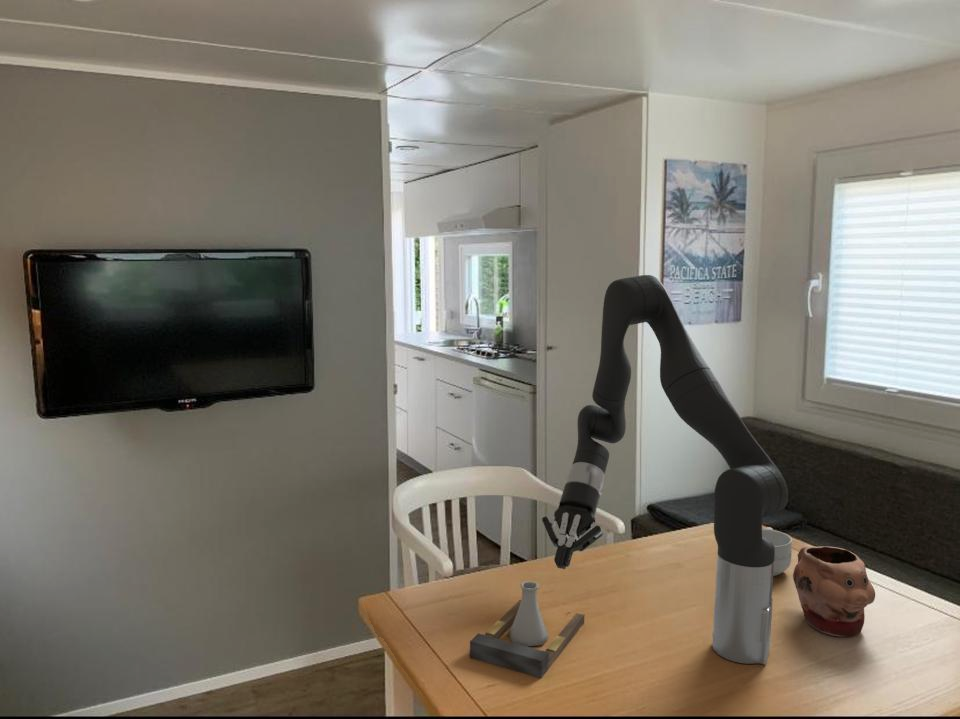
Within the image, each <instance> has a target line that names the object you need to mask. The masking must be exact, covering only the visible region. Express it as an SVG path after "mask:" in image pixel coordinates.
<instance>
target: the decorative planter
mask: <svg viewBox="0 0 960 719" xmlns="http://www.w3.org/2000/svg"><path fill="white" fill-rule="evenodd" d="M866 569H867V568H866V565H865V563H864V561H863V560H862V559H860V557H859V556H858V555H857V554H855V553H853V552H851V551H850V550H848V549H845V548H841V547H835V546H826V545H825V546H810V547H809V546H803V547H801V548H800V549H799V551H798V553H797V563H796V565H795V566H794V569H793V572H792V578H793V583H794V586H795V589H796V592H797V595H798V600H799V603H800V606H801V609H802V612H803V617H804V620H805V621H806V622H807V623H808V625H809V626H810V627H813V628H814V629H815V630H817V631H819V632H821V633H823V634H826V635H831V636H835V637H852V636H857V635H860V633H861V632H862V630H863V627H864V624H865V617H866V616H865V615H866V614H865V608H866V607H867V606H868V605H872V604H873V603H874V601H875V599H876V591H875V588H874V585H873V584H872V583H871V581H870V580H869V577H868V574H867V571H866Z"/></svg>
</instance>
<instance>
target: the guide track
mask: <svg viewBox="0 0 960 719" xmlns="http://www.w3.org/2000/svg"><path fill="white" fill-rule="evenodd" d="M520 603H521V599H519V600H518V601H517V602H516V603H515V604H514V605H513V606H511V608H510V609H509V610H507V612H506V613H505V614H504V615H503V616H502V617H501V618H500V619H498V620H497V621H495V623H494V624H493V625H492V626H490V628H488V630H486V632H485V634H481V633H477V634H476V635H475V636H474V637H473V638H472V639H471V640H469V658H470V659H474V660H477V661H480V662H484V663H488V664H490V665H494V666H498V667H501V668H505V669H509V670H512V671H515V672H518V673H522V674H525V675H529V676H532V677H536V678H539V679H542V678H543V676H545V675H546V673H547V672H548V671H549V669H550V668H551V667H552V665H553V664H554V663H555V662H556V660H557V659H558V657H560V655H561V653H562V652H564V650H565V649H566V648H567V646H568V644H569V643H570V642H571V641H572V639H573V638H574V637H575V635H576V634H577V633H578V632H579V630H580V629H581V628H582V627H583V625H584V624H585V614H582V613H577V612H575V614H574V615H573V616H572V618H571V619H570V620H569V621H568V622H567V624H566V625H565V626H564V628H562V630H561V631H560V633H558V634H557V635H556V637H555V638H553V640H552V641H551V642H550V643H549V644H548V646H547V647H546V649H545V650H541V649H538V648H534V647H532V646H524V645H520V644H516V643H513V642H512V641H508V640H505V639H504V640H503V639H500V638H501V637H502V636H503V635H504V634H505V633H506V632H507V631H508V630H509V629H511V627H512V625H513V622H514V620H515V617H516V615H517V612H518V609H519V606H520Z"/></svg>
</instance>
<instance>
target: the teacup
mask: <svg viewBox="0 0 960 719" xmlns="http://www.w3.org/2000/svg"><path fill="white" fill-rule="evenodd" d="M762 537H765V538H767V539H768V540H770V541H771V542H772V543H773V545H774V547H775V557H774V571H773V577H775V576H778V575H781V574H782V573H784V572H785V571H786V570H788V569H789V567H790V565H791V563H792V553H793V552H792V550H793V549H792V546H793V545H792V544H793V538H792V536H790V535H789V534H787V533H784V532H783V531H779V530H773V528H772V527H769V526H768V527H767V526H766V527H765V528H762Z"/></svg>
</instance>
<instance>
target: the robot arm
mask: <svg viewBox="0 0 960 719" xmlns="http://www.w3.org/2000/svg"><path fill="white" fill-rule="evenodd" d="M602 308H603V309H602V322H601V336H600V337H601V339H600V340H601V341H600V354H599V355H600V357H599V363H598V369H597V373H596V377H595V381H594V386H593V390H592V395H591V397H592V400H593V401H594V403H595V404H596V405H593V404H588V405H585V406H583V408H581V410H580V411H579V412H578V416H577V446H576V451H575V454H574V457H573V461H572V465H571V468H570V470H569V471H568V474H567V477H566V480H565V484H564V487H563V489H562V494H561V497H560V500H559V505H558V507H557V508H556V510H555V511H554V514H553V515H551V516H549V517H547V516H543V517H542V519H541V522H542V523H543V526H544V528H545V530H546V532H547V534H548V537H549V539H550V541H551V543H552V544H553V546H554V547H555V548H557V549H556V551H555V555H554V558H553V559H554V563H555V565H556V567H557V569H562V570H566V568H569V566H570V564H571V560H572V558H573V555H574V554H573V553H574V552H576V551H579V552H583V551H585V550H586V549H587V548H588V547H590V546H591V545H593V543H595V542H596V541H597V540H598V539H600V538H601V537H602V536H603V535H604V533H603V530H602V528H601V526H600V525H597V524H596V518H595V515H596V512H597V508H598V504H599V501H600V498H601V495H602V492H603V487H604V479H605V475H606V471H607V466H608V463H609V461H610V460H609V459H610V452H609V450H608V449H607V447H605V446H604V445H603V444H601V443H599V442H598V441H601V442H604V443H608V444H617V443H619V442H620V441H621V440H622V439H623V438H624V436H625V433H626V430H627V429H626V425H627V423H626V413H625V412H626V411H625V410H626V409H625V406H626V398H627V393H628V392H629V391H628V390H629V386H630V383H631V379H632V366H631V362H630V359H629V357H628V354H627V352H626V349H625V345H624V343H625V342H624V341H625V337H626V333H627V331H628V329H629V327H630V326H632V325H638V324H639V325H640V324H644V323H647V325H648V326H649V327H650V328H651V330H652V331H653V333H654V335H655V337H656V339H657V341H658V343H659V348H660V362H659V365H660V366H659V378H660V385H661V388H662V389H663V390H662V391H664V394H665V395H666V397H667V399H668V400H669V402H670V404H671V407H672V408H673V409H674V410H675V413H676V414H677V415H678V416H679V418H680V419H681V420H682V421H683V422H684V423H685V424H686V425H688V426H689V427H690V428H691V429H692V430H694V431H695V432H696V433H697V434H698V435H700V436H701V437H702V438H703V439H705V440H706V441H708V443H710V444H711V445H712V446H713V447H714V448H715V449H716V450H717V451H718V453H720V455H721V456H722V457H723V459H724V461H725V462H726V464H727V466H728V467H729V468H728V469H726V470H725V471H723V472H722V473H721V474H720V475H719V477H718V479H717V481H716V484H715V487H714V496H713V534H714V538H715V541H716V544H717V555H716V556H717V558H716V572H715V573H716V575H715V576H716V577H715V590H714V591H715V592H714V593H715V594H714V609H713V625H712V626H713V628H712V649H713V651H714V652H716V654H717V655H719V656H720V657H722V658H724V659H726V660H728V661H731V662H734V663H735V662H736V663H740V664H745V665H746V664H748V665H749V664H750V665H751V664H760V665H761V664H762V665H766V664H767V661H768V657H769V653H770V649H771V646H770V645H771V634H772V633H771V631H772V618H773V605H774V604H773V601H774V598H773V582H774V576H773V571H774V557H775V547H774V545H773V543H772V542H771V541H770V540H768V539H767V538H765V537H762V529H763V519H765V518H767V517H771V516H774V515H776V514H779V513H780V512H782V511H783V510H784V509H785V507H786V506H787V504H788V501H789V490H788V485H787V482H786V480H785V477H784V476H783V475H782V472H781V471H780V470H779V468H778V467H777V465H776V464H775V463H774V461H773V460H772V459H771V458H770V456H769V455H768V453H766V451H765V450H764V449H763V448H762V446H761V445H760V444H759V442H758V441H757V440H756V438H755V437H754V436H753V435H752V433H751V431H749V429H748V427H747V426H746V424H745V423H744V421H743V419H742V418H741V417H740V415H739V413H738V412H737V411H736V409H735V407H734V405H733V404H732V403H731V401H730V400H729V398H728V396H727V395H726V393H725V391H724V389H723V388H722V386H721V384H720V382H719V381H718V379H717V377H716V376H715V374H714V373H713V371H712V370H711V368H710V366H709V365H708V364H707V362H706V360H705V359H704V358H703V356H702V354H701V353H700V350H698V348H697V346H696V345H695V342H694V341H693V339H692V337H691V336H690V334H689V333H688V330H687V329H686V327H685V325H684V323H683V321H682V319H681V317H680V314H679V312H678V311H677V309H676V307H675V304H674V303H673V300H672V299H671V296H670V295H669V293H668V291H667V289H666V288H665V286H664V284H663V283H662V282H661V281H660V279H658V278H657V277H656V276H654V275H649V274H644V275H637V276H631V277H624V278H619V279H615V280H614V281H612V282H610V283H609V285H608V286H607V288H606V290H605V294H604V299H603V306H602ZM594 439H595V440H594ZM596 440H598V441H596ZM556 525H557V527H558V529H559V536H558V537H557V535H556V533H555V531H554V529H555V526H556ZM587 531H588V532H587Z"/></svg>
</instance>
